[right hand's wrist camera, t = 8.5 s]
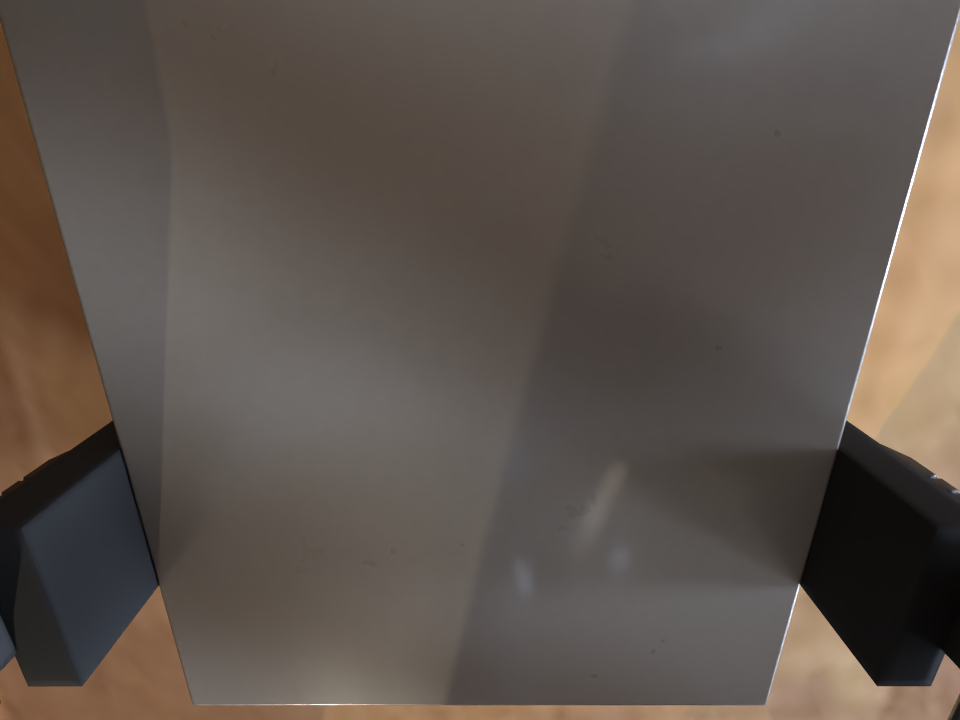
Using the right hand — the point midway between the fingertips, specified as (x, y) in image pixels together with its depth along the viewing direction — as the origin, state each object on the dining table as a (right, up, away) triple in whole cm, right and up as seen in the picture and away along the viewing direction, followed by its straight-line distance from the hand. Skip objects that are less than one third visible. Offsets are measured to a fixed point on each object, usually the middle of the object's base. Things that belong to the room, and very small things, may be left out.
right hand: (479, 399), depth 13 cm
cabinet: (0, +8, +2) cm, 8 cm away
